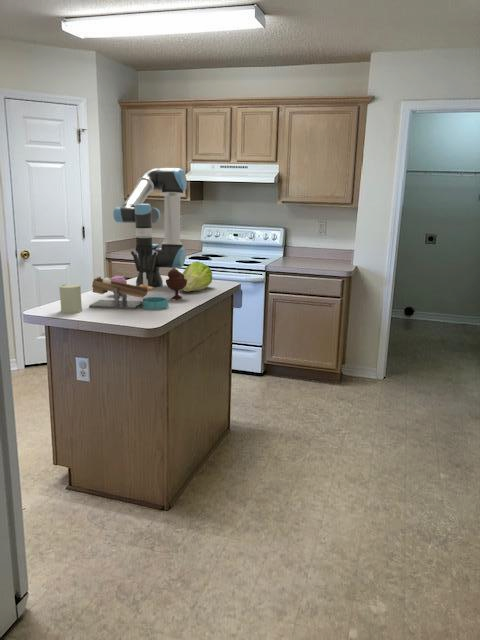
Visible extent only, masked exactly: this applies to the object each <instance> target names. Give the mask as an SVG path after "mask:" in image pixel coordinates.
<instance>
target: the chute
mask: <svg viewBox="0 0 480 640" xmlns="http://www.w3.org/2000/svg"><path fill="white" fill-rule="evenodd" d="M103 279H104V278H102V276H97V277H94V278H93V280H92V285H91V287H92V293H96V294H100V295H105V294H106V293H108V292H112V293H113V292H114V288H115V287H117V288H118V289H119V294H126V295H127V296H132V297H135V298H141V299H144V297H146V296H147V295H148V293H149V292H151V291H152V290H153V289H154V287H151V286H146V287H145V286H143V285H140V286H136V285H133V284H128V283H127V284H125V283H120V282H115V281H111V284H107V283H103V282H102V281H103Z"/></svg>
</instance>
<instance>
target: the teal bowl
mask: <svg viewBox="0 0 480 640" xmlns="http://www.w3.org/2000/svg"><path fill="white" fill-rule="evenodd" d="M141 301H142V308H143V309H144V310H147V311H149V310H150V311H158V310H159V309H160V310H165V309H168V308H169V299H168V298H167V297H163V296H151V297H145V298H144V297H143V298H142V300H141ZM167 307H168V308H167ZM164 308H165V309H164Z"/></svg>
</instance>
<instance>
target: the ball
mask: <svg viewBox="0 0 480 640" xmlns="http://www.w3.org/2000/svg"><path fill="white" fill-rule="evenodd" d="M102 279H103V281H102V282H103V283H107V284H111V280H110V279H111V277H104V278H102Z"/></svg>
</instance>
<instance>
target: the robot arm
mask: <svg viewBox="0 0 480 640" xmlns="http://www.w3.org/2000/svg"><path fill="white" fill-rule="evenodd" d="M187 186H188V181H187V176H186V173H185V171H184V169H183V168H179V167H155V168H151V169H149V170H147V171H146V172H144V173H142V175H140V176H139V178H138V179H137V181H136V186H135V187H134V189H133V190H132V192H131V193H130V194H129V196H128V197H127V199H126V200H125V202H124V203H123V205H122V206H116V207H114V209H113V214H112V215H113V219H114V221H115V222H117V223H124V224H125V223H127V224H128V223H130V224H131V223H132V224H133V223H134V225H135V236H136V238H135V245H136V246H135V249H134V250H133V251H131V252H130V254H131V255H132V257H133V262H134V265H135V269H136V271H137V272H138V273H137V277H136V280H135V286H140V285H143V286H145V287H146V286H151V287H153V288H159V287H162V286H163V285H164V282H163V277H162V276H161V272H160V268H161V269H163V268H164V269H166V268H167V269H181V268H182V267H183V266H184V265H185V262H186V257H187V250H186V248H185V247H183V243H182V242H181V197H182V196H183V195H184V191H186V190H187ZM154 191H161V195H163V197H164V226H163V227H164V234H163V235H164V237H163V238H164V240H163V241H162V243H161V246H160V245H159V243H153V238H152V236H153V230H152V228H153V226H152V224H155V223H157V222H159V221H160V219H161V216H162V215H161V212H160V210H159V209H158V208H156V207H153V206H152V205H151V204H150V203H144V202H145V201H146V199H147V197H148V196H149V194H152V192H154Z"/></svg>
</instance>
